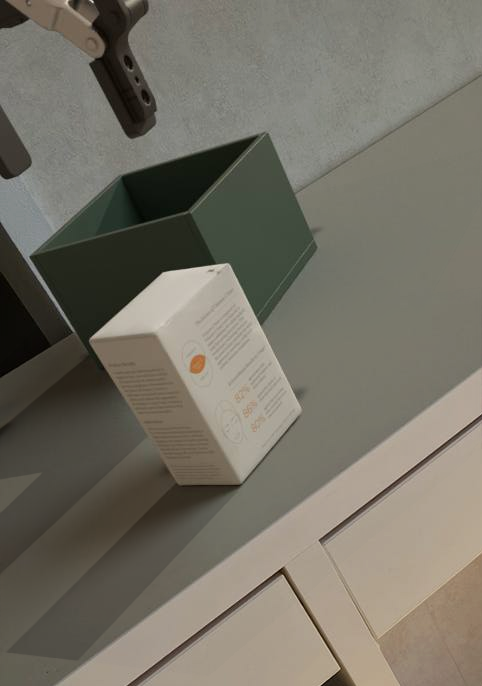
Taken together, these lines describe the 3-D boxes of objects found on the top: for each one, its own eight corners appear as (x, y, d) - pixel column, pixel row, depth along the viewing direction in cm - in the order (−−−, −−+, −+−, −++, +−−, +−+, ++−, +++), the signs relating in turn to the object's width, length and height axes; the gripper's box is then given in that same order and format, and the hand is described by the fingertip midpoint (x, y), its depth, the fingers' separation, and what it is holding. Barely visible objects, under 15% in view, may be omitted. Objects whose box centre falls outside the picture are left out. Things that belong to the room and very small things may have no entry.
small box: (241, 415, 71) (163, 269, 64) (305, 412, 69) (231, 259, 62) (175, 488, 67) (83, 339, 60) (241, 487, 64) (152, 331, 57)
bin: (98, 369, 87) (28, 256, 80) (175, 282, 96) (118, 175, 90) (252, 337, 81) (190, 212, 74) (318, 247, 91) (267, 130, 84)
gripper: (35, -313, 44) (218, 91, 55) (-191, -188, 50) (15, 158, 61) (-65, -291, 40) (157, 147, 50) (-303, -155, 45) (-58, 214, 56)
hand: (79, 153), depth 55 cm, fingers open, 8 cm apart
